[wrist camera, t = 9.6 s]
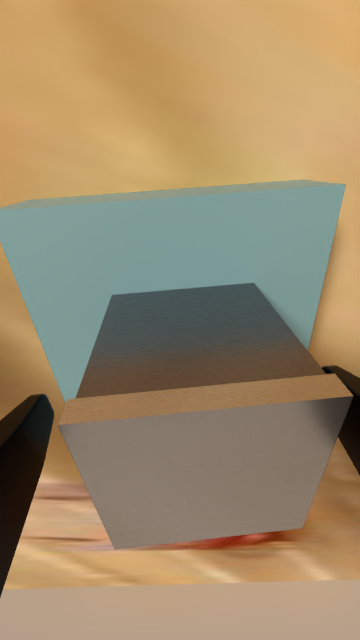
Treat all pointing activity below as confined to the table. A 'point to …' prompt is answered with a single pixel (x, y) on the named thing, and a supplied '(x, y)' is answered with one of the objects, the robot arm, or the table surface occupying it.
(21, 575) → the table surface
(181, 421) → the tin
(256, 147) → the table surface
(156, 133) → the table surface
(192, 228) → the teal box
